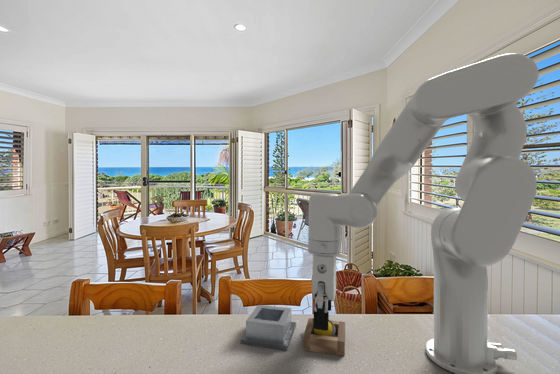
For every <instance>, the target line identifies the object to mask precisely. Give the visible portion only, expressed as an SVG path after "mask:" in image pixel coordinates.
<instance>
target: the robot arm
mask: <svg viewBox="0 0 560 374" xmlns="http://www.w3.org/2000/svg"><path fill="white" fill-rule="evenodd" d="M539 75H540V72H539V68H538V64H537V63H536V62H535V61H534V60H533V59H532V58H530V57H529V56H527V55H524V54H521V53H504V54H501V55H500V54H499V55H496V56H494V57H490V58H487V59H483V60H481V61H478V62H475V63H472V64H469V65H466V66H463V67H459V68H457V69H453V70H450V71H446V72H444V73H442V74H439V75H436V76H434V77H431V78H429V79H427V80H426V81H424V82H423V83H422V84H420V85H419V86H418V88H417V89H416V91H415V92H414V93H413V95H412V97H410V99H409V101H408V102H407V103H406V105H405V107H404V108H403V109H402V111H401V112H400V113H399V115H398V117H397V118H396V120H395V121H394V122H393V124H392V126H391V127H390V129H389V130H388V132H387V133H386V135H384V137H383V139H382V140H381V142H380V143H379V144H378V146H377V148H376V149H375V151H374V153H373V155H372V157H371V158H370V161H369V162H368V164H367V166H366V167H365V169H364V170H363V172H362V173H361V175H360V176H359V178H358V179H357V181H356V182H355V184H354V185H353V187H352V188H351V189H350V191H349V193H348V194H342V195H341V194H340V195H339V194H338V193H332V192H331V193H330V192H329V193H326V192H324V193H323V192H317V193H315V192H314V193H312V194H311V195H310V196H309V199H308V227H307V228H308V234H307V235H308V237H307V239H308V240H307V243H308V244H307V252H308V253H309V254H310V255H312V263H311V264H312V271H311V273H312V274H311V275H312V276H311V290H312V291H311V293H312V294H311V296H312V298H313V299H314V309H313V318H314V320H313V328H314V329H318V330H326V331H327V330H328V321H329V320H330V319H329V318H330V316H329V313H330V312H329V311H332V302H333V301H335V300H336V292H337V256H339V255H341V245H342V244H341V243H342V242H341V241H342V240H341V239H342V237H341V236H342V226H344V227H345V226H346V227H349V228H355V229H364V228H367V227H369V226H371V225H372V224H373V223H374V222H375V221H376V219H377V217H378V206H379V205H380V203H381V202H382V200H383V199H384V197H386V194H387V193H388V192H389V191H390V190H391V189H392V187H393V186H394V185H395V183H397V182H398V181H400V179H401V178H403V177H404V176H405V175H406V174H408V173H409V172H410V171H411V170H412V168H413V167H414V166H415V164H416V163H417V162H418V161H419V159H420V157H421V156H422V155H423V153H424V152H425V150H426V149H427V147H428V146H429V144H430V143H431V142H432V140H433V139H434V138H435V137H436V135H437V133H439V131H440V129H441V128H442V126H443V125H444V124H445V122H447V121H449V120H450V119H452V118H456V117H460V116H464V115H469V117H470V118H471V121H472V122H473V125H474V133H473V135H472V136H473V137H472V139H471V142H470V145H469V148H468V151H467V153H466V154H465V157H464V158H463V159H464V160H463V162H462V164H461V167H460V169H459V171H458V173H457V176H456V177H455V181H454V189H455V193H456V194H457V196H458V197H459V198H460V200H463V204H462V206H461V208H460V207H459V208H458V207H454V208H448V209H445V210H443V211H442V212H440V213H438V215H437V216H436V217H435V218H434V220H433V221H432V224H431V229H430V232H431V233H430V236H431V247H432V255H433V258H432V259H433V338H431V339H429V340H428V341H427V342H426V344H425V353H426V354H427V356H428V358H429V359H430V360H431V361H432V362H433V363H435V364H436V365H438V366H439V367H441V368H442V369H444V370H446V371H448V372H451V373H454V374H497V373H498V363H497V361H498V360H499V359H504V360H509V361H510V360H511V361H517V360H518V356H517V352H516V350H515V349H513V348H506V347H504V348H503V345H502V344H501V343H500V342H491V341H490V342H489V340H488V335H489V333H488V329H489V328H488V326H489V322H488V317H489V315H488V314H489V313H488V310H489V309H488V308H489V307H488V306H489V305H488V301H489V300H488V299H489V297H488V293H489V278H488V268H487V267H489V266H493V265H496V264H498V263H500V262H501V261H503V260H504V258H505V257H507V255H508V254H509V253H510V252H511V250H512V248H513V247H514V245H515V242H516V240H517V238H518V236H519V233H520V232H521V230H522V227H523V225H524V223H525V221H526V218H527V217H528V214H529V212H530V210H531V208H532V205H533V202H534V200H535V198H536V195H537V189H538V186H537V185H538V183H537V182H538V181H537V177H536V174H535V171H534V170H533V168H532V167H531V166H530V165H529V164H528V163H527V162H526V161H524V160H523V159H521V158H520V157H521V154H522V151H523V149H524V146H525V143H526V139H527V133H528V129H527V122H526V120H525V117H524V116H523V113H522V111H521V110H520V108H519V107H518V105H517V104H516V102H518V101H520V100H522V99H524V98H525V97H526V96H528V94H530V93H531V92H532V91H533V89H534V87H535V86H536V84H537V83H538V79H539Z"/></svg>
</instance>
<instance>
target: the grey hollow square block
mask: <svg viewBox="0 0 560 374" xmlns="http://www.w3.org/2000/svg"><path fill="white" fill-rule="evenodd" d="M296 327H297V322H295V321H292V308H291V307H283V306H282V307H281V306H274V305H273V306H270V305H263V304H258V305H257V306H256V307H255V309H253V310H252V312H251V314H250V315H249V316H248V318H247V319H246V320H245V332H244V334H243V335H242V336H241V338H240V340H239V342H240V344H241V345H244V346H245V345H246V346H252V347H260V348H267V349H273V350H274V349H275V350H281V351H288V348H289V346H290V343H291V341H292V337H293V335H294V333H295V330H296Z"/></svg>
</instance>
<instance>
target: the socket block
mask: <svg viewBox="0 0 560 374" xmlns="http://www.w3.org/2000/svg"><path fill="white" fill-rule="evenodd" d="M313 318H314V317H312V318H311V317H309V318H308V320H307V323H306V326H305V330H304V332H303V337H302V350H303V351H305V352H306V351H307V352H313V353H314V352H315V353H321V354H329V355H335V356H342V357H345V354H346V352H345V351H346V321H342V320H341V321H338V320H332V319H331V320H330V319H329V320H330V321H331V322H332V323H333V324H334V326H335V330H336V332H335V336H334V337H331V336H323V335H315V334H313V322H312V319H313Z"/></svg>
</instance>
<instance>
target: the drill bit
mask: <svg viewBox="0 0 560 374" xmlns="http://www.w3.org/2000/svg"><path fill="white" fill-rule="evenodd" d="M312 318H313V319H312V322H313V320H314V317H312ZM331 321H332V320H331ZM331 321H330V319H329V321H328V330H327V331H326V330H318V329H314V328H313V334H315V335H323V336H331V337H336V336H335V332H336V330H335V326H334V324H333V323H332V322H331Z"/></svg>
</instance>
